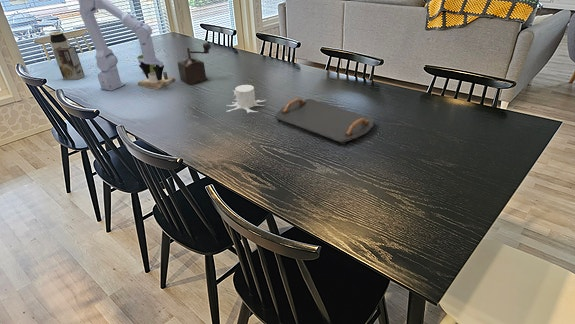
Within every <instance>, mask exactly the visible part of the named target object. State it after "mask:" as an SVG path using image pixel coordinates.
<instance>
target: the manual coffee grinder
mask: <svg viewBox="0 0 575 324" xmlns="http://www.w3.org/2000/svg"><path fill="white" fill-rule="evenodd" d="M211 47H212V46H211V44H210V43H207V42H205V43H203V44H202V48H203V51H195V50H194V51H192V50H190V48H189V47H187V48H186V53H187V56H188V58H186V59H184V60H183V61H177V68H178V74H179V80H180V81H181V82H183V83H184V84H186V85H188V86H190V85H194V84H198V83H201V82H204V81H207V80H208V79H207V76H206V68H205V63H204V62H203V61H202V60H199V59H197V58H193V57H191V54H201V55H202V54H203V55H205V54H206V55H207V54H210V49H211Z"/></svg>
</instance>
